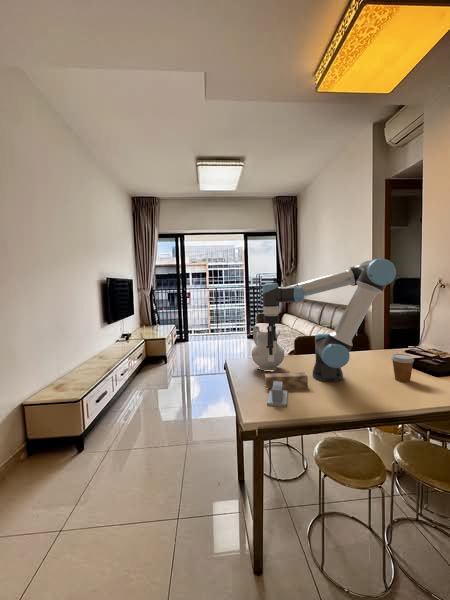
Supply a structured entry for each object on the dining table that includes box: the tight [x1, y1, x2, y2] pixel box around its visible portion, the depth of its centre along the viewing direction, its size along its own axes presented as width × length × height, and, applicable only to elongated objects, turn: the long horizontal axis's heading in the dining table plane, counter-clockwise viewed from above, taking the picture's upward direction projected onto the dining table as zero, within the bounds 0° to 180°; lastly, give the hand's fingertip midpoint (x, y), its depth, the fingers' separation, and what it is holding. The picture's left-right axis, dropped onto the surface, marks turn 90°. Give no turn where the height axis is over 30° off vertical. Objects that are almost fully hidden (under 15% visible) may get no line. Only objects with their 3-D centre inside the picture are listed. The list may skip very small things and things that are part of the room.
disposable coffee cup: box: [391, 353, 415, 383], centre depth 133 cm, size 10×10×12 cm
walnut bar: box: [264, 371, 309, 389], centre depth 132 cm, size 20×5×6 cm, turn 89°
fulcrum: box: [266, 381, 288, 408], centre depth 118 cm, size 8×14×6 cm, turn 165°
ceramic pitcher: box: [251, 325, 285, 371], centre depth 159 cm, size 22×20×25 cm
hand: (272, 357), depth 132 cm, fingers open, 13 cm apart
